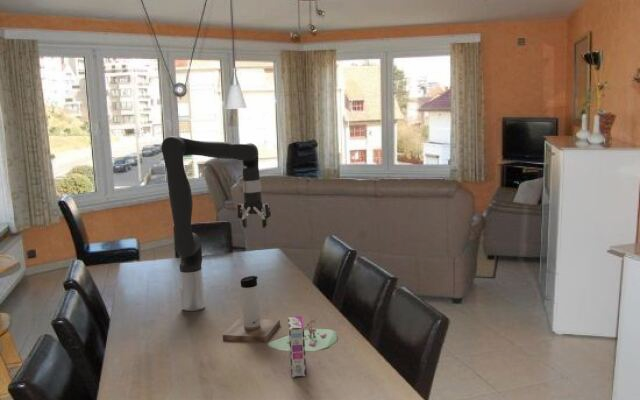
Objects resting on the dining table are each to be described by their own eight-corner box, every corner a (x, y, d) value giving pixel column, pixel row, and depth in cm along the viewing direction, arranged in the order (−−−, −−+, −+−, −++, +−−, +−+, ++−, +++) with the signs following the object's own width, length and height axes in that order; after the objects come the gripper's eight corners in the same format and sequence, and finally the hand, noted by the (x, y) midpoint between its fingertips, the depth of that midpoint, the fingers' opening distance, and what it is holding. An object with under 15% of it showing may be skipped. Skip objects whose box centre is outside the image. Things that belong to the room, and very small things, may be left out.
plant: (279, 360, 202) (277, 335, 200) (262, 339, 220) (260, 316, 219) (346, 345, 210) (344, 321, 209) (324, 326, 229) (323, 304, 228)
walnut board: (222, 340, 221) (222, 334, 220) (239, 323, 237) (239, 318, 236) (265, 342, 216) (265, 336, 216) (280, 324, 233) (279, 319, 232)
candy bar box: (307, 377, 187) (304, 327, 184) (291, 378, 186) (288, 329, 184) (305, 361, 198) (302, 315, 195) (290, 363, 197) (287, 316, 195)
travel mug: (258, 330, 223) (254, 279, 219) (242, 330, 224) (237, 279, 221) (263, 324, 229) (259, 274, 225) (247, 323, 230) (243, 274, 227)
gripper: (233, 192, 249) (236, 229, 252) (265, 191, 246) (267, 229, 248) (239, 189, 256) (242, 225, 259) (270, 188, 253) (273, 225, 255)
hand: (255, 227), depth 254 cm, fingers open, 8 cm apart
